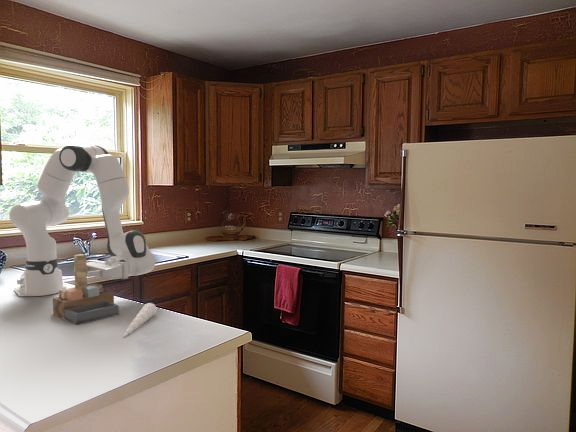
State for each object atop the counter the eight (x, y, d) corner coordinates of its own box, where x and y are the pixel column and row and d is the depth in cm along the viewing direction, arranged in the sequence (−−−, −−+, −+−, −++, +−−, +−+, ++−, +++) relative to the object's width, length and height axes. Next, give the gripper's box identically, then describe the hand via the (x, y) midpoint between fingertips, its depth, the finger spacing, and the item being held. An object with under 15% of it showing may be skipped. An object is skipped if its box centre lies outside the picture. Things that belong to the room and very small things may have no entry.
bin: (64, 319, 152) (64, 309, 151) (106, 310, 163) (106, 300, 163) (76, 324, 146) (76, 314, 146) (119, 314, 157) (118, 304, 157)
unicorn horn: (111, 338, 134) (111, 322, 134) (144, 315, 158) (144, 302, 157) (126, 338, 134) (126, 323, 133) (157, 315, 157) (157, 302, 157)
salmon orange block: (66, 298, 156) (65, 290, 156) (77, 296, 159) (77, 288, 159) (71, 300, 153) (71, 292, 153) (82, 298, 156) (82, 290, 156)
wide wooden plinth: (53, 314, 157) (52, 297, 157) (102, 304, 171) (101, 288, 171) (64, 319, 152) (63, 302, 151) (114, 308, 165) (113, 292, 165)
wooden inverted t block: (59, 297, 158) (57, 256, 157) (97, 289, 169) (96, 252, 168) (64, 298, 156) (62, 257, 155) (102, 291, 166) (101, 253, 165)
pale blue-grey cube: (83, 295, 160) (82, 287, 160) (94, 293, 163) (93, 285, 163) (88, 297, 158) (88, 289, 158) (99, 295, 161) (99, 287, 161)
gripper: (102, 256, 179) (67, 260, 168) (129, 262, 166) (93, 267, 155) (102, 272, 179) (68, 277, 169) (130, 279, 166) (94, 285, 156)
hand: (80, 272), depth 162 cm, fingers open, 8 cm apart
